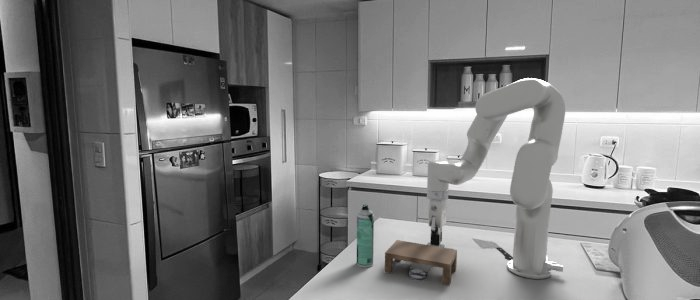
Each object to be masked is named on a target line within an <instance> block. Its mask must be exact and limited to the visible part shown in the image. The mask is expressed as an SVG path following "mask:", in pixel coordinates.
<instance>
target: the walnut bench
mask: <svg viewBox="0 0 700 300" xmlns="http://www.w3.org/2000/svg"><path fill="white" fill-rule="evenodd" d="M457 256H458V249H454V248H448V247H444V248H443V247H437V246H431V245H427V244H423V243H417V242H412V241H406V240H399V239H397V240H395V242H393V243H392V244H391V246H390V247H389V248H388V249H387V250H386V251H385V252H384V273H386V274H389V275H390V274H392V273H393V271H394V261H396V262H402V261H403V262H409V263H412V264H413V263H419V264H424V265H429V266H433V267H435V268H441V269H442V285H444V286H450V285H451V281H452V272H456V271H457V262H458V261H457V259H458V257H457Z"/></svg>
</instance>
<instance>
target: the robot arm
mask: <svg viewBox="0 0 700 300" xmlns="http://www.w3.org/2000/svg"><path fill="white" fill-rule="evenodd" d="M528 109H532V110H533V117H532V120H531V124H530V129H529V130H530V132H529V134H528V135H529V136H528V139H527V142H525V143H524V144H522V145H521V146H520V147H519V149H518V151H517V153H516V156H515V160H514V161H515V162H514V166H513V172H512V177H511V182H510V187H509V195H510V196H509V197H510V198H511V200H512V202H513V204H514V205H515V206H516V209H515V217H514V218H515V219H514V235H513V236H514V237H513V249H512V251H513V252H512V257H513V260H508V261H507V263H506V264H507V265H506V267H507V269H508V271H510V272H512V273H513V274H514V275H517V276H519V277H522V278H527V279H533V280H534V279H535V280H542V279H547V278H549V277H551V275H552V271H556V272H561V273H563V272H564V265H561V264H559V263H558V262H557V261H556V262H555V261H550V260H548V255H547V254H548V240H549V227H550V215H551V207H552V199H553V191H554V189H553V183H552V181H551V179H550V177H551V176H550V175H551V171H552V167H553V166H554V165H555V164H556V162H557V160H558V158H559V157H558V156H559V150H560V149H559V148H560V144H561V139H562V135H563V129H564V124H565V116H566V104H565V100H564V98H563V96H562V94H561V93H560V91H559V90H558V89H557V88H556V87H554V86H553V85H551V83H549V82H546V81H544V80H542V79H538V78H532V77H531V78H529V77H527V78H523V79H519V80H517V81H515V82H512V83H509V84H507V85H504V86H501V87H499V88H497V89H494V90H491V91H488V92H486V93H483V94H482V95H480V96H479V98H478V99H477V100H476V103H475V112H476V115H475V117H474V119H473V121H472V122H471V125H470V126H469V128H468V130H467V132H466V137H467V140H468V141H467V146H466V148H465V151H464V152H463V154H462V156H461V158H460V159H459V161H456V162H453V163H449V162H448V161H446V160H441V159H433V160H430V161H428V163H427V179H426V180H427V182H426V184H427V185H426V199H427V200H429V202H428V203H429V204H428V212H427V214H428V216H427V217H428V218H427V222H428V223H427V224H428V226H429V227H430V244H431V245H437V246H439V244H440V235H439V227H440V228H441V242H443V241H442V240H443V227H444V226H445V225H446V223H447V218H448V216H447V212H448V211H447V210H448V209H447V208H448V207H447V205H448V204H447V201H448V199H449V188H450V186H449V185H453V186H459V185H462V184H464V183H466V182H468V181H470V180H472V179H473V178H474V177H475V176H476V174H477V173H478V171H479V170H480V168H481V167H482V165H483V163H484V162H485V160H486V158H487V155H488V152H489V150H490V148H491V144H492V143H493V140H495V137H496V135H497V134H498V133H499V131H500V130H501V127H502V125H503V124H504V122H505V120H506V119H507V118H508V117H507V116H509V115H512V114H515V113H519V112H521V111H524V110H528ZM435 225H437V226H435ZM435 228H437V229H435Z"/></svg>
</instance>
